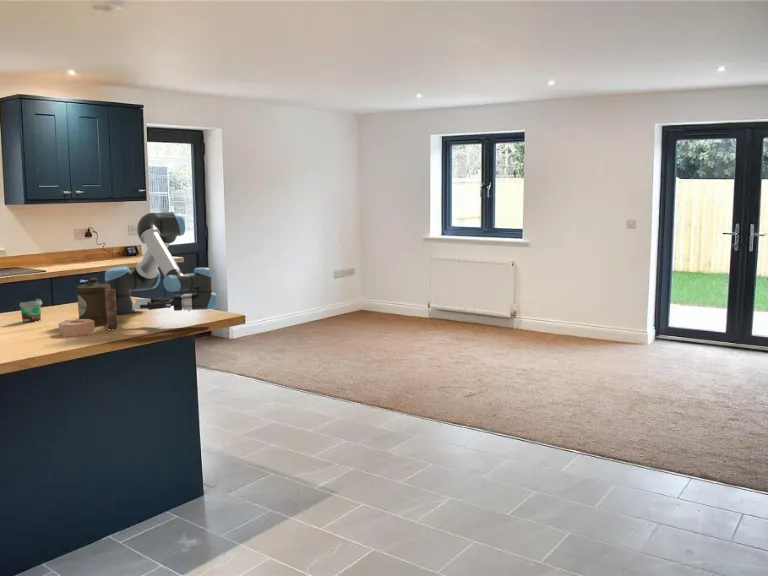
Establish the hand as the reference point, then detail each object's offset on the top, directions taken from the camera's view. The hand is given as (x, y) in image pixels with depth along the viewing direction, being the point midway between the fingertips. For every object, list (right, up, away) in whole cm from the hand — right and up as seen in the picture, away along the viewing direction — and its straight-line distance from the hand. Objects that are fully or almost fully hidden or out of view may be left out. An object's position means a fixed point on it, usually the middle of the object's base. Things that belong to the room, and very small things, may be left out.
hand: (134, 304), depth 324 cm
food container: (-55, -9, +20) cm, 59 cm away
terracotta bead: (-22, -12, -9) cm, 27 cm away
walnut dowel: (-10, -11, -1) cm, 15 cm away
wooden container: (-22, -10, +13) cm, 28 cm away
